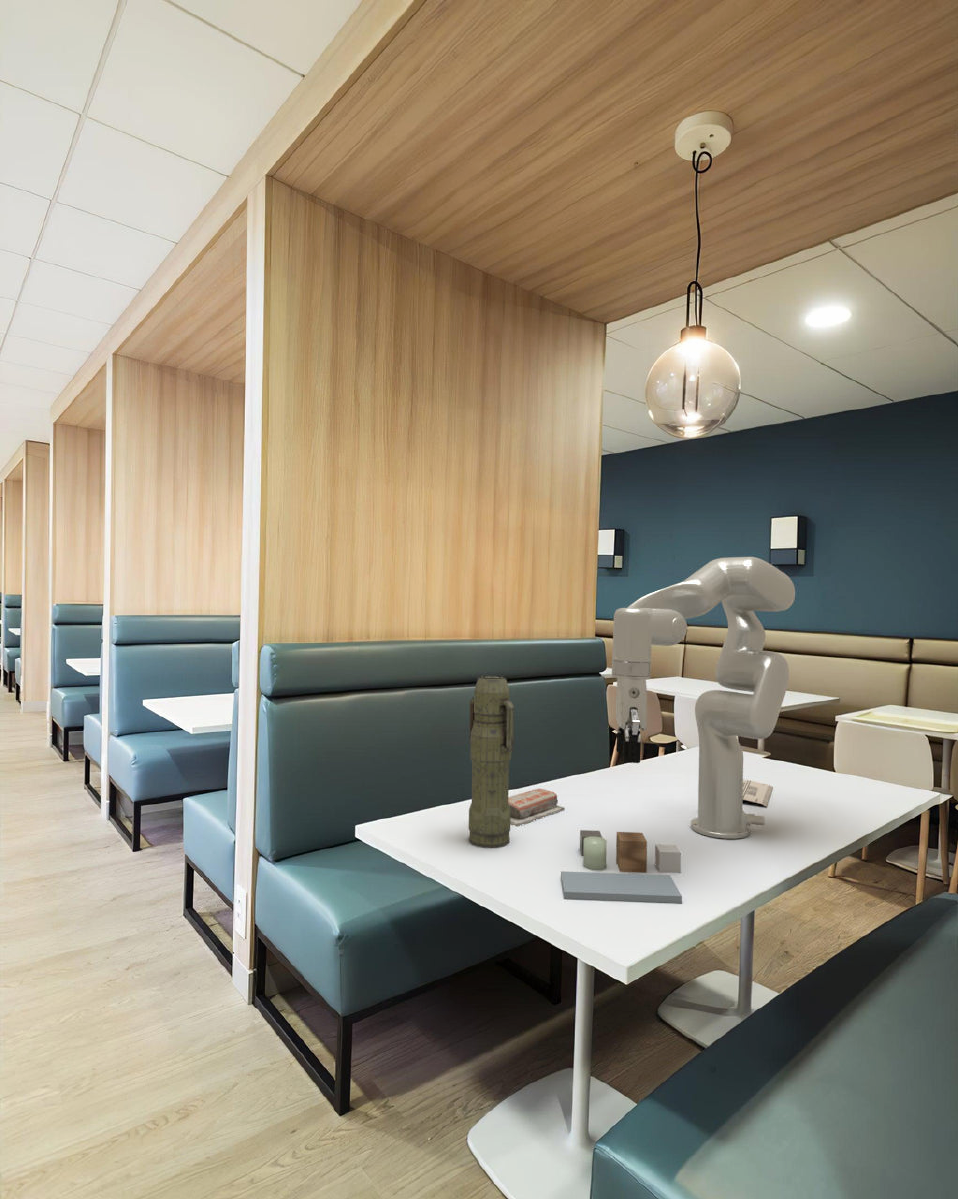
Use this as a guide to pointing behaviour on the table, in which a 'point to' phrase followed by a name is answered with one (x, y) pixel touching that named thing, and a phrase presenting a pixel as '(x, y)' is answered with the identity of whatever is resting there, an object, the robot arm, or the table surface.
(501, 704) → the thermos
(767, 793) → the newspaper
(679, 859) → the grey plastic cube
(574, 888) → the slate board
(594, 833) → the dark metal block
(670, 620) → the robot arm
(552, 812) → the packaged product
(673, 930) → the table surface
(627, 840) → the walnut block
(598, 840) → the sage plastic cylinder
